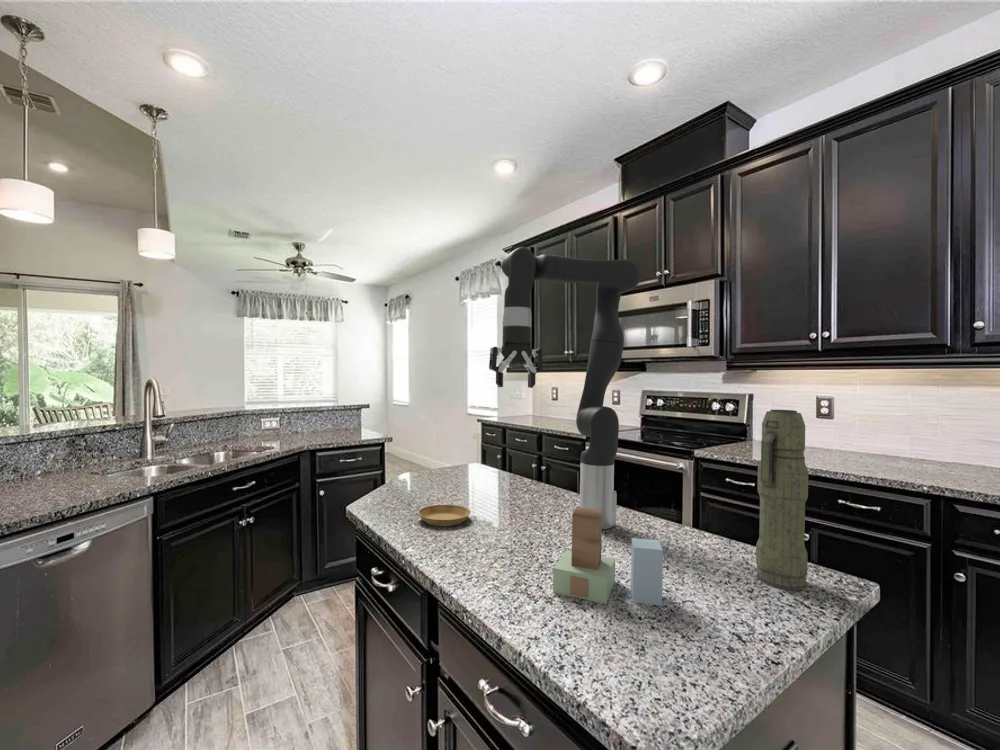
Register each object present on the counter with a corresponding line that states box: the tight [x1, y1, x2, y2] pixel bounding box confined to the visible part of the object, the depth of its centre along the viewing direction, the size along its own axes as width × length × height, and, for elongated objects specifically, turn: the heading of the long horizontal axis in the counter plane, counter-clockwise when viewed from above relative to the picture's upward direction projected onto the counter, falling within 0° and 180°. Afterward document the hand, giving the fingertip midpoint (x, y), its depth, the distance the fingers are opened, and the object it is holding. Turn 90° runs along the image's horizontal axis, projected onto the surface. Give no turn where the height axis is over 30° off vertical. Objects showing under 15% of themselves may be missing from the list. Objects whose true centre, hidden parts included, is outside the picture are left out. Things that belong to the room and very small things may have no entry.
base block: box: [552, 549, 616, 605], centre depth 88 cm, size 10×10×5 cm
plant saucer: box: [417, 504, 471, 527], centre depth 128 cm, size 15×15×3 cm
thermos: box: [755, 409, 809, 591], centre depth 93 cm, size 9×12×35 cm
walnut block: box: [571, 506, 603, 570], centre depth 88 cm, size 5×5×10 cm
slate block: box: [630, 537, 664, 606], centre depth 84 cm, size 5×5×10 cm
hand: (515, 387), depth 119 cm, fingers open, 8 cm apart
